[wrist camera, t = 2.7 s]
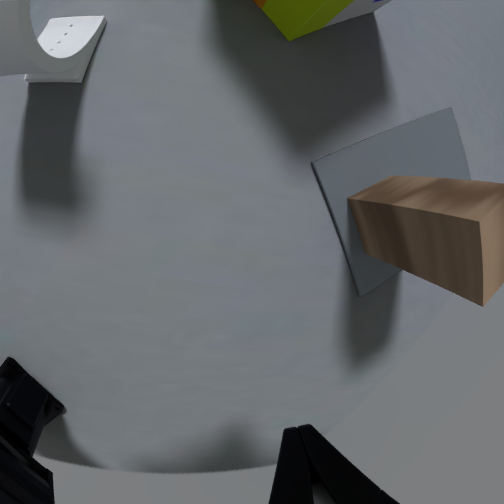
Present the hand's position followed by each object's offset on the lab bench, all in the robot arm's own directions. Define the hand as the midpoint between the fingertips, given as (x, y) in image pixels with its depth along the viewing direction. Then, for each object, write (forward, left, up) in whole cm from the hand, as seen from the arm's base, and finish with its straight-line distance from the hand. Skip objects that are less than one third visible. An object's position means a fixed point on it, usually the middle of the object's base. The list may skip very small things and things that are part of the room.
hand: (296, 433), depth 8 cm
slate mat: (+17, -4, -12) cm, 21 cm away
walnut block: (+12, -3, -12) cm, 17 cm away
